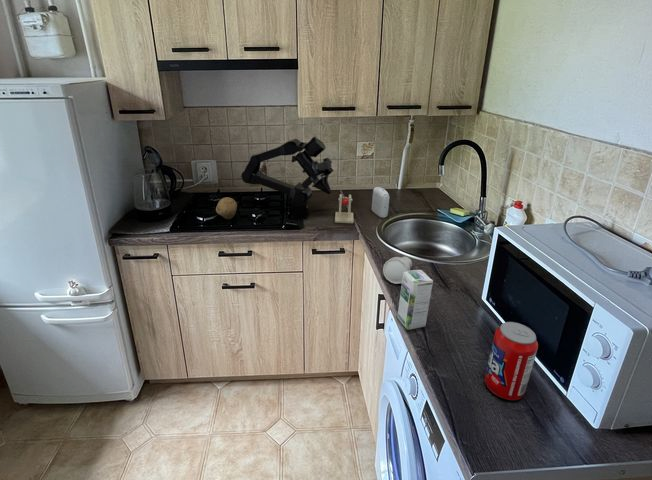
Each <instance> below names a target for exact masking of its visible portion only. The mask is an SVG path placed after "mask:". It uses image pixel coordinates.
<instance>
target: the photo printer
mask: <svg viewBox="0 0 652 480" xmlns="http://www.w3.org/2000/svg"><path fill="white" fill-rule="evenodd" d="M389 206H390V194H389V193H388V191H387V190H386V189H385V188H383V187H381V186H376V187H374V188H373V189H372V199H371V211H372V212H373V213H374V214H375V215H376V216H377V217H379V218H383V219H384V218H387V217H388V215H389Z"/></svg>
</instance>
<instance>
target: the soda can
mask: <svg viewBox="0 0 652 480" xmlns="http://www.w3.org/2000/svg"><path fill="white" fill-rule="evenodd" d="M538 349H539V342H538V340H537V335H536V333H535V332H534V330H532V329H531V328H530V327H529V326H527V325H525V324H521V323H519V322H515V321H505V322H503V323H502V324H501V325H500V326H499V327H497V328H496V329H495V331H494V336H493V340H492V344H491V349H490V353H489V356H488V362H487V364H486V365H487V366H486V370H485V373H484V384H485V386H486V387H487V389H488V390H489V391H490V392H492V394H494V395H495V396H497V397H499V398H501V399H504V400H507V401H518V400H521V399H523V398H524V396H525V394H526V391H527V387H528V384H529V381H530V377H531V373H532V370H533V367H534V363H535V360H536V356H537V353H538Z"/></svg>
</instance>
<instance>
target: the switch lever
mask: <svg viewBox="0 0 652 480" xmlns="http://www.w3.org/2000/svg"><path fill="white" fill-rule="evenodd" d="M348 204H349V196H342V205H343V206H348Z"/></svg>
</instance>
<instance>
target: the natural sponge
mask: <svg viewBox="0 0 652 480" xmlns="http://www.w3.org/2000/svg"><path fill="white" fill-rule="evenodd" d="M237 210H238V204H237V201H235V199H233V197H232V198H231V197H228V196H227V197H223V198H221V199H219V201H218V203H217V205H216V207H215V212H216V213H217V215H219V216H221V217H222V218H224V219H226V220H231V219H233V218H234V217H235V215H236V213H237Z"/></svg>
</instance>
